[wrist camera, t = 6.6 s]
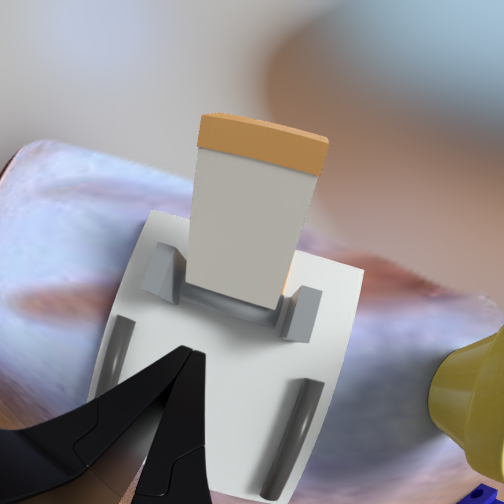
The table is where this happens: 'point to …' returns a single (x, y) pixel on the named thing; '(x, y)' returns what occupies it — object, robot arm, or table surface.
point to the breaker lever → (248, 214)
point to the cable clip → (481, 496)
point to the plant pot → (473, 403)
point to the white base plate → (237, 358)
